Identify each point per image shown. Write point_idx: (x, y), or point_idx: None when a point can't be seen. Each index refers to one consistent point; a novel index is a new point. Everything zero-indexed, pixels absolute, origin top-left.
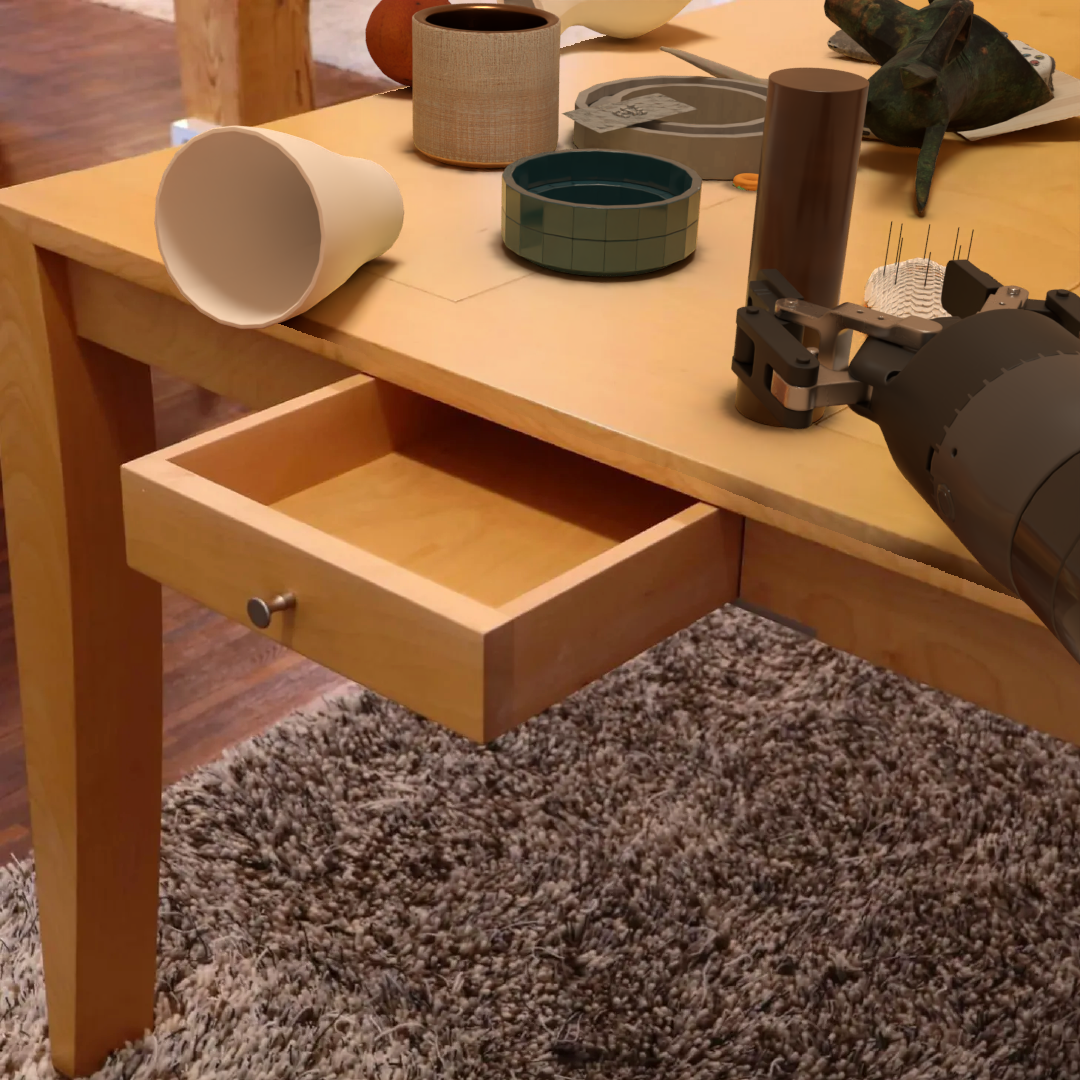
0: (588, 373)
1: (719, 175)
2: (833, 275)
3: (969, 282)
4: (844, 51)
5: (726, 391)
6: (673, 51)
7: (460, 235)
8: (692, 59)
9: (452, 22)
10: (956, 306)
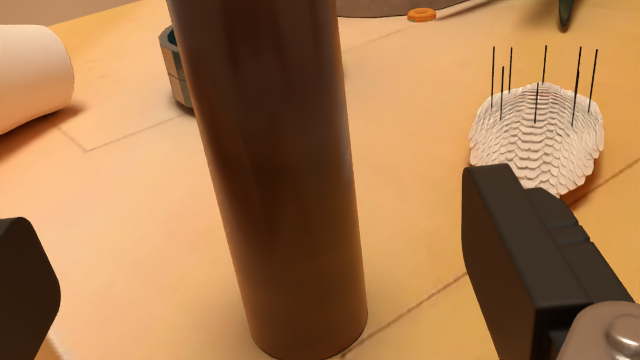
0: (124, 249)
1: (397, 12)
2: (312, 161)
3: (498, 250)
4: None
5: None
6: None
7: (158, 80)
8: None
9: None
10: (482, 286)
